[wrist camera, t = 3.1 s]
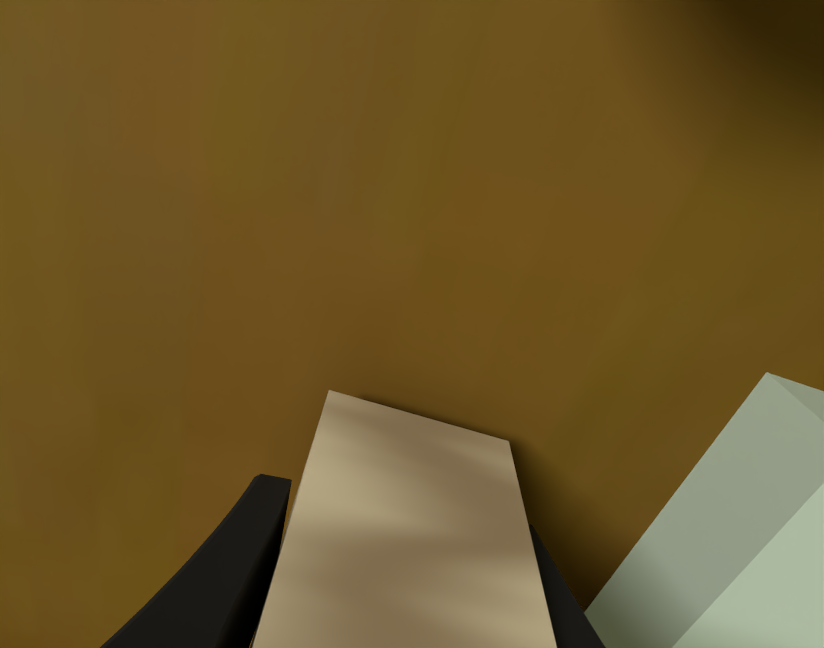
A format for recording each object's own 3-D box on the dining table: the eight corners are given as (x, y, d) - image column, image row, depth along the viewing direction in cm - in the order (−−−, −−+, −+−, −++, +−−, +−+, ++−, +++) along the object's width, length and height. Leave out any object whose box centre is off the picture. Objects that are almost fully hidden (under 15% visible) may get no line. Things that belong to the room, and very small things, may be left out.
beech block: (508, 441, 11) (589, 788, 6) (445, 562, 13) (461, 920, 7) (329, 390, 11) (232, 717, 5) (287, 522, 12) (182, 874, 7)
